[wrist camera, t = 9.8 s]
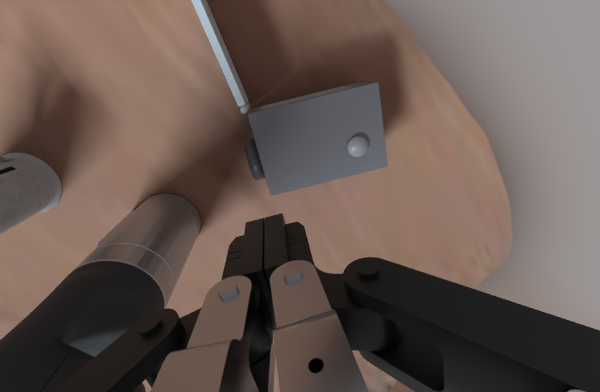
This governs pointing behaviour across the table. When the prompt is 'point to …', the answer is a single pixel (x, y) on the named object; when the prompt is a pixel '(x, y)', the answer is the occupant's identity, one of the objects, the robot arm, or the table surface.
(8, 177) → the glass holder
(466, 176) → the table surface
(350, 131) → the grey box with knob
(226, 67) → the side door
